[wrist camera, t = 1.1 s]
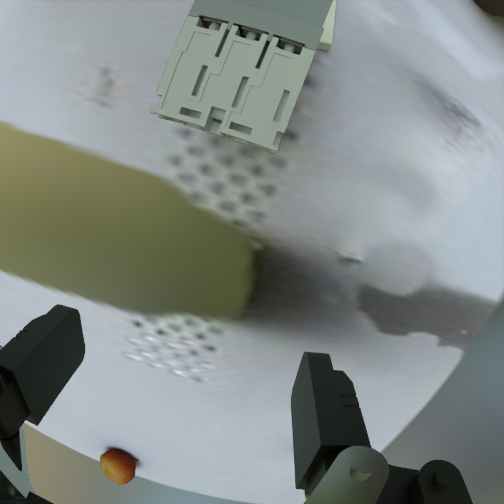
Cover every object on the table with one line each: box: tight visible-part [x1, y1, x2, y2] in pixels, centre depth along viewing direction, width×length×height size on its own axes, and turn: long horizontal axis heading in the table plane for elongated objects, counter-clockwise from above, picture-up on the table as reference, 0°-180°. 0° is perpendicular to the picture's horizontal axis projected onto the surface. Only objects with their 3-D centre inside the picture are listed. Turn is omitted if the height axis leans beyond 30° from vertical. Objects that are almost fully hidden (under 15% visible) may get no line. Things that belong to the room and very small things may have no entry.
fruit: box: [100, 449, 139, 484], centre depth 48 cm, size 8×8×8 cm
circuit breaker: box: [150, 0, 333, 154], centre depth 21 cm, size 8×14×15 cm, turn 160°
